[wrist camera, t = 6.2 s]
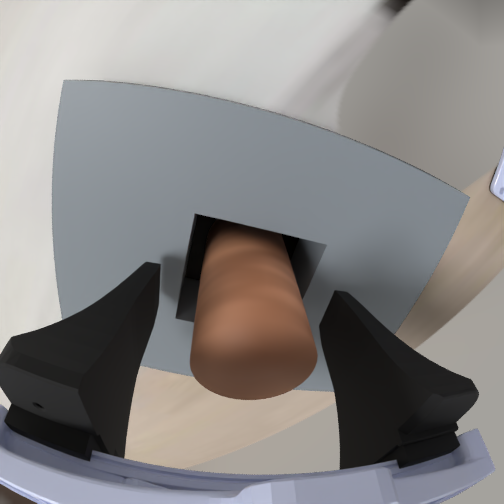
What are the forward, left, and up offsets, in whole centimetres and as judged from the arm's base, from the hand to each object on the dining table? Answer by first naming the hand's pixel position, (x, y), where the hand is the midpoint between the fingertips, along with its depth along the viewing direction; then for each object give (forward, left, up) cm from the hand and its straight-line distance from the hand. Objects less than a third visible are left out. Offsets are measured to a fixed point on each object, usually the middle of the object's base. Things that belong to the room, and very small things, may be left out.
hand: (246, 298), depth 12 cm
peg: (0, 0, -4) cm, 4 cm away
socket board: (0, 0, -4) cm, 4 cm away
